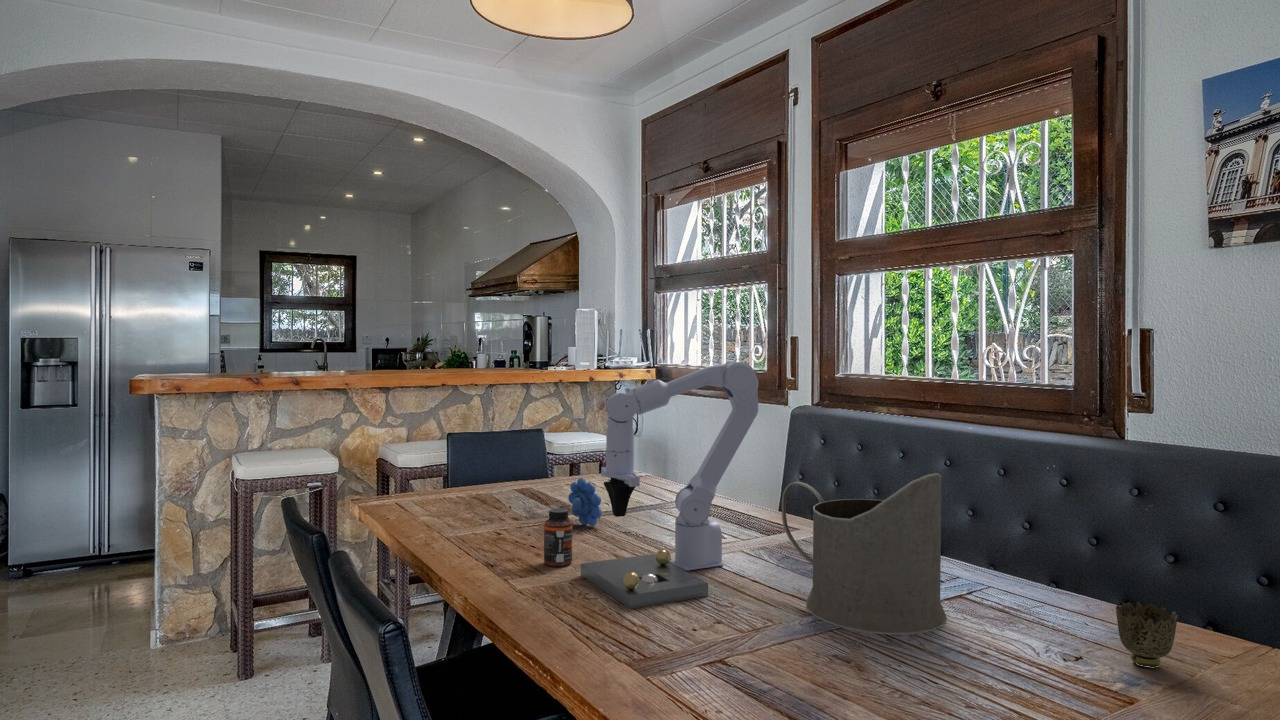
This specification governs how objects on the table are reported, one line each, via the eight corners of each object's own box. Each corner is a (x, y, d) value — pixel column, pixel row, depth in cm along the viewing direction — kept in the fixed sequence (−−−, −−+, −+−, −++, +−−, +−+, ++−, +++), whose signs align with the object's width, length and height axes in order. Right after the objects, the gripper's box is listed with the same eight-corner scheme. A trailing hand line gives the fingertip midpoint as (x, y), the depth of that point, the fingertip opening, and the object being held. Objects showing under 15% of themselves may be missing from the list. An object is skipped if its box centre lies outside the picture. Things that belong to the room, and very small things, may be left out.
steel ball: (655, 583, 144) (649, 567, 143) (664, 588, 141) (658, 572, 140) (640, 592, 143) (634, 576, 142) (649, 597, 140) (642, 581, 139)
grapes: (557, 524, 196) (557, 478, 196) (576, 520, 201) (576, 475, 201) (588, 531, 189) (588, 483, 188) (607, 527, 193) (607, 480, 193)
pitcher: (900, 646, 116) (901, 482, 116) (742, 595, 140) (743, 459, 140) (971, 612, 131) (972, 468, 131) (818, 572, 155) (819, 449, 155)
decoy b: (634, 585, 137) (634, 568, 137) (642, 590, 135) (642, 573, 135) (619, 587, 136) (619, 571, 136) (627, 592, 133) (627, 575, 133)
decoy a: (666, 562, 153) (666, 547, 153) (673, 565, 150) (673, 550, 150) (652, 563, 152) (653, 548, 152) (660, 567, 149) (660, 552, 149)
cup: (1103, 655, 113) (1103, 601, 113) (1149, 653, 113) (1150, 600, 113) (1140, 676, 105) (1141, 619, 105) (1190, 675, 106) (1190, 617, 106)
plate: (651, 565, 159) (651, 554, 159) (708, 595, 139) (708, 582, 139) (580, 575, 152) (580, 563, 152) (629, 608, 132) (629, 595, 132)
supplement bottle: (567, 568, 157) (567, 513, 156) (539, 566, 158) (540, 512, 158) (575, 560, 162) (576, 507, 162) (549, 559, 164) (549, 506, 163)
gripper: (588, 447, 163) (587, 510, 163) (617, 456, 150) (616, 524, 150) (618, 446, 166) (617, 508, 167) (649, 454, 153) (648, 521, 154)
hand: (619, 515), depth 159 cm, fingers closed
